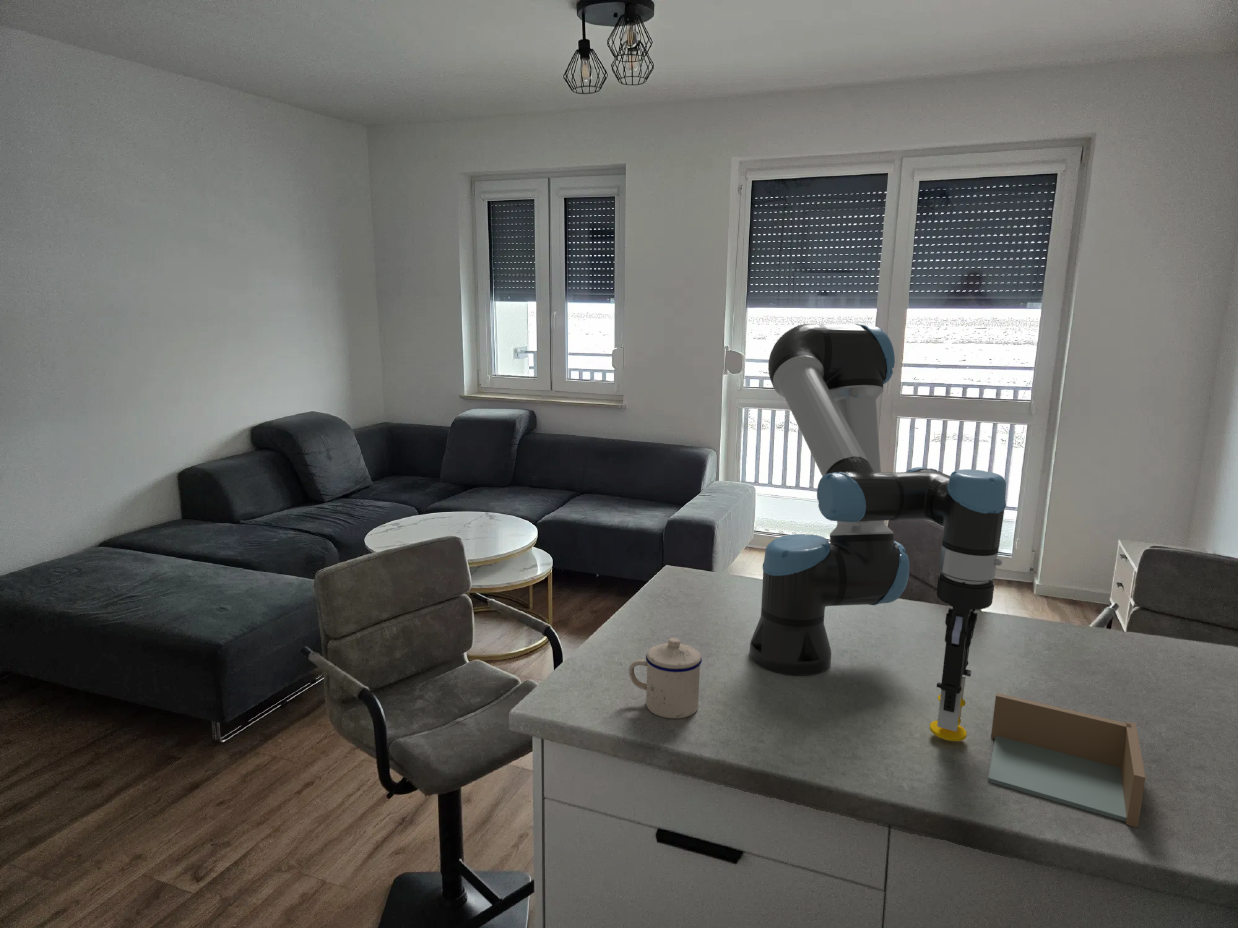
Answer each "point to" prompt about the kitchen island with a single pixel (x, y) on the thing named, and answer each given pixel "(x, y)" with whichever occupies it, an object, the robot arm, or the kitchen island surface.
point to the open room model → (1068, 757)
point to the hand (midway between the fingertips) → (949, 720)
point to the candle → (947, 733)
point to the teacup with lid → (670, 679)
